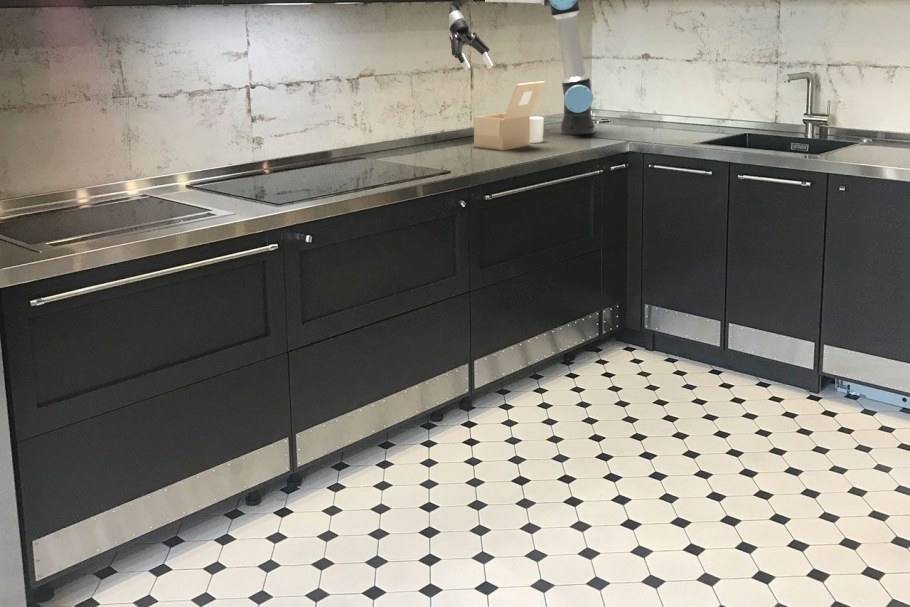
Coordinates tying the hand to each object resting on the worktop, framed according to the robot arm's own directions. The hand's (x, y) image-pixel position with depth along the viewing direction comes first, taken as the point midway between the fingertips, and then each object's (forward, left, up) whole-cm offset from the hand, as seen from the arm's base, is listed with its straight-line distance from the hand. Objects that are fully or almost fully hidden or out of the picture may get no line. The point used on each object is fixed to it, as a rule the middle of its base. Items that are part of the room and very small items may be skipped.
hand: (479, 68), depth 422 cm
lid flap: (-11, +27, -11) cm, 31 cm away
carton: (-5, +16, -30) cm, 35 cm away
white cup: (-21, +9, -31) cm, 38 cm away
